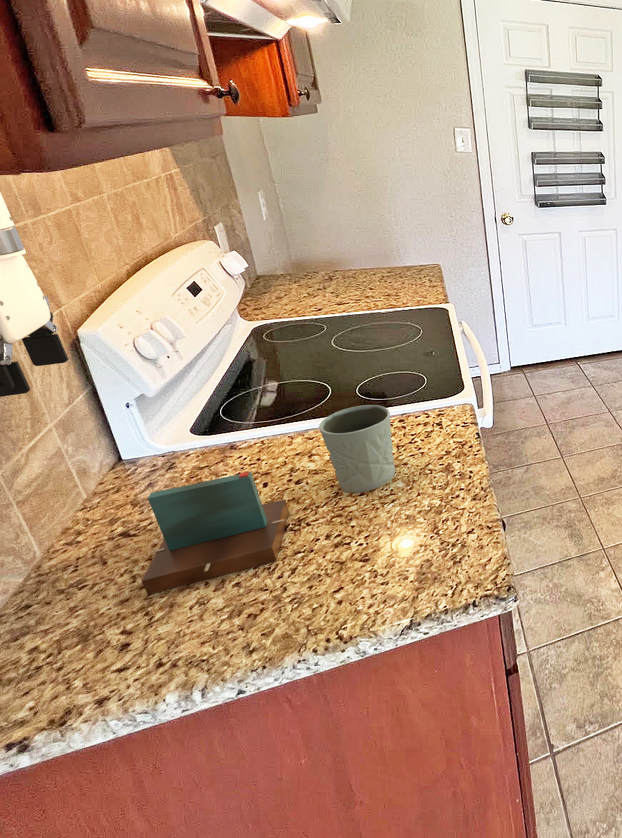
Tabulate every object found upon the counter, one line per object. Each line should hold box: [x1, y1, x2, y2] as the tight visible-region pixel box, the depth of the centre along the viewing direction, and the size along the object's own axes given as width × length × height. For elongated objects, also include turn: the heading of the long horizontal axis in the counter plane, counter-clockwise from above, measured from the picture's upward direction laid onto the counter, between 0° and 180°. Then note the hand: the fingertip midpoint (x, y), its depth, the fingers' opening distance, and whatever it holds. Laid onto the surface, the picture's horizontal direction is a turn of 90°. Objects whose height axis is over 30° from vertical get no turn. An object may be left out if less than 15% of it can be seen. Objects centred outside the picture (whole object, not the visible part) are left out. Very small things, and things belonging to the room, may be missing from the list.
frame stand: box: [141, 499, 290, 596], centre depth 83 cm, size 15×15×3 cm
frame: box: [147, 470, 267, 551], centre depth 81 cm, size 11×1×9 cm, turn 119°
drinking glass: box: [318, 404, 396, 494], centre depth 99 cm, size 10×10×12 cm
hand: (32, 378), depth 72 cm, fingers open, 9 cm apart
